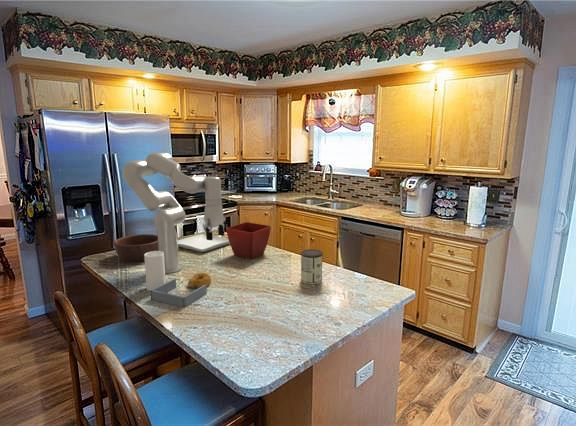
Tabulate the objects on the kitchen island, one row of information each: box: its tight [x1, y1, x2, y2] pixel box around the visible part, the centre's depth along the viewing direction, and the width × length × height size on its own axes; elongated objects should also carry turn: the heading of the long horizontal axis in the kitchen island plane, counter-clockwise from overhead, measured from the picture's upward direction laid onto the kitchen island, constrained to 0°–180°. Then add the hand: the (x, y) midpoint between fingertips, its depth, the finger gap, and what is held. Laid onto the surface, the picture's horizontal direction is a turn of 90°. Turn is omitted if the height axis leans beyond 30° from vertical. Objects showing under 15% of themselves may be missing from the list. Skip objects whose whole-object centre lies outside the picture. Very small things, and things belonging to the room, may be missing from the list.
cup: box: [144, 251, 167, 292], centre depth 165 cm, size 8×8×16 cm
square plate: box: [177, 233, 230, 253], centre depth 233 cm, size 27×27×4 cm
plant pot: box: [225, 221, 272, 260], centre depth 213 cm, size 19×19×17 cm
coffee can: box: [300, 248, 324, 285], centre depth 175 cm, size 10×10×14 cm
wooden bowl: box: [113, 233, 159, 263], centre depth 209 cm, size 25×25×10 cm
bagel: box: [187, 272, 212, 289], centre depth 170 cm, size 10×11×5 cm
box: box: [149, 278, 208, 308], centre depth 157 cm, size 18×15×4 cm
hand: (215, 237), depth 178 cm, fingers open, 9 cm apart
